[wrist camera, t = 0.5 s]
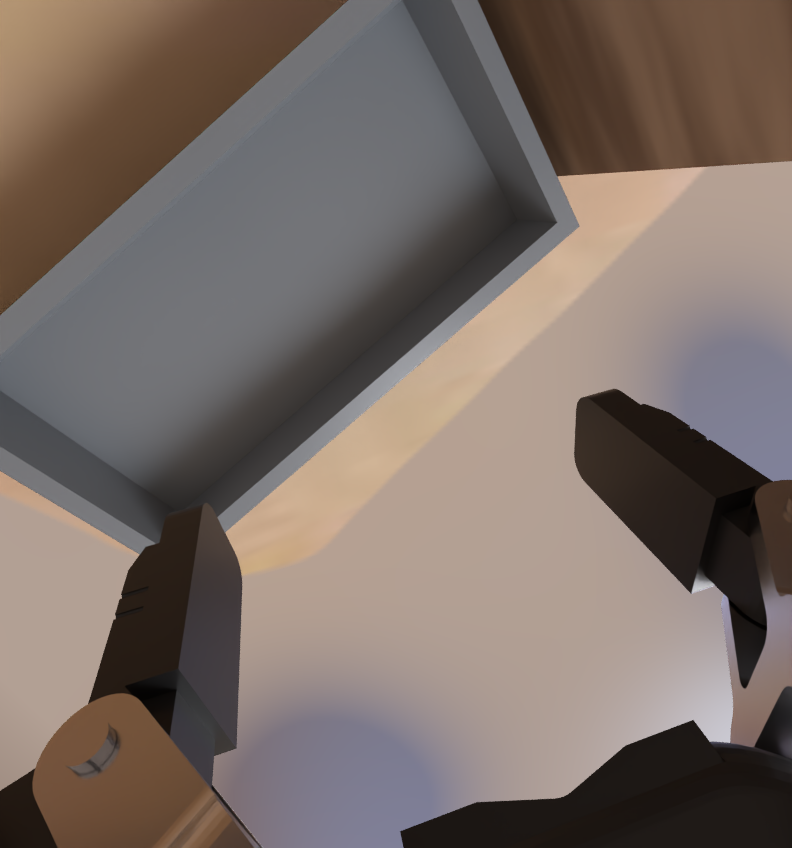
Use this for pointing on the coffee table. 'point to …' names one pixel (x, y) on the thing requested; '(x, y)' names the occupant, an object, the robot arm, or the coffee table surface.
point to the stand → (651, 80)
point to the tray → (279, 272)
